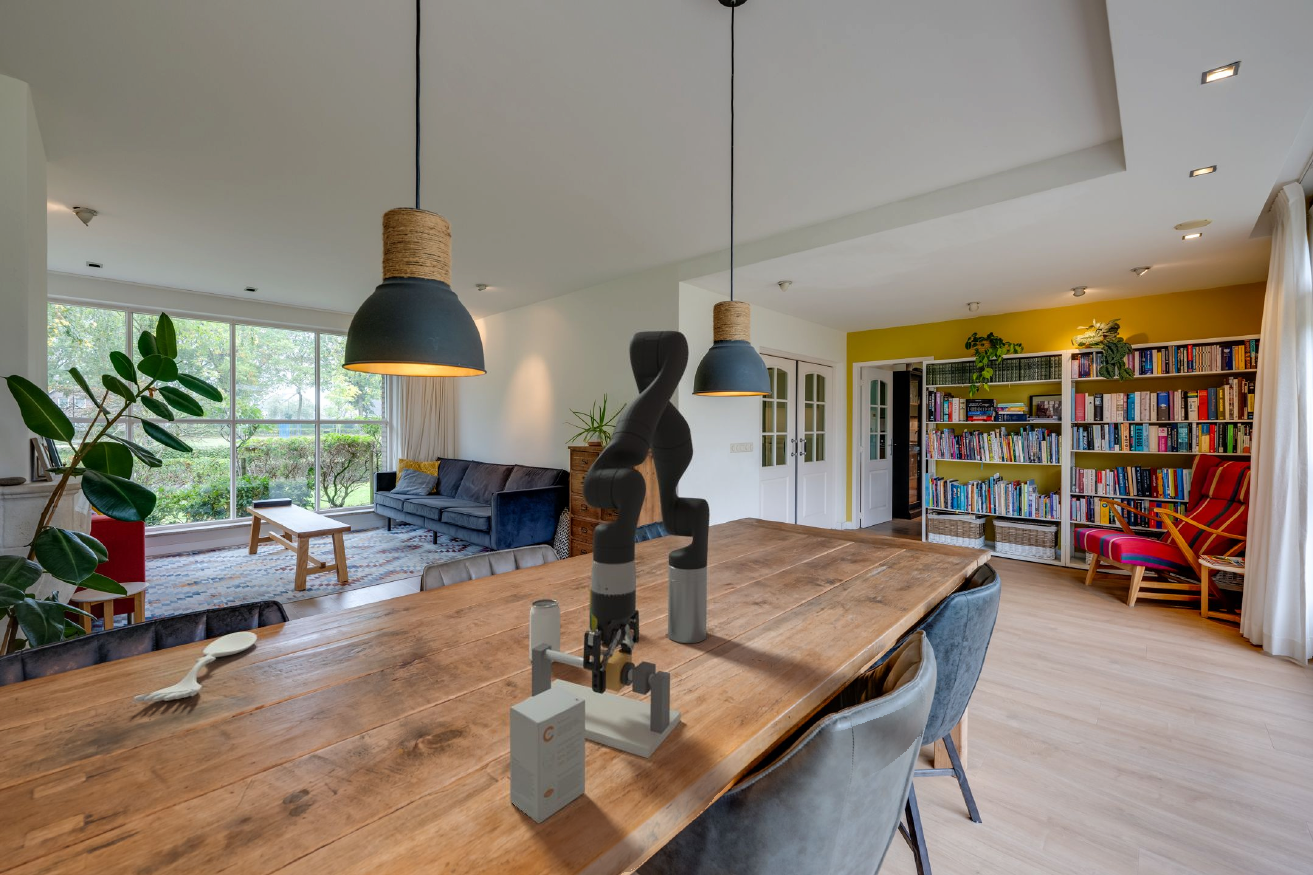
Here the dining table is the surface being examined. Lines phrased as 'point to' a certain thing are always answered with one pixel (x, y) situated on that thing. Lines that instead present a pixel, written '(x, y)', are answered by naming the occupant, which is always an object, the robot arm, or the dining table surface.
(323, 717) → the dining table surface
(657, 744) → the cable stand
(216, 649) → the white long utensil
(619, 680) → the sleeve
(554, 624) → the can
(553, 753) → the small box
